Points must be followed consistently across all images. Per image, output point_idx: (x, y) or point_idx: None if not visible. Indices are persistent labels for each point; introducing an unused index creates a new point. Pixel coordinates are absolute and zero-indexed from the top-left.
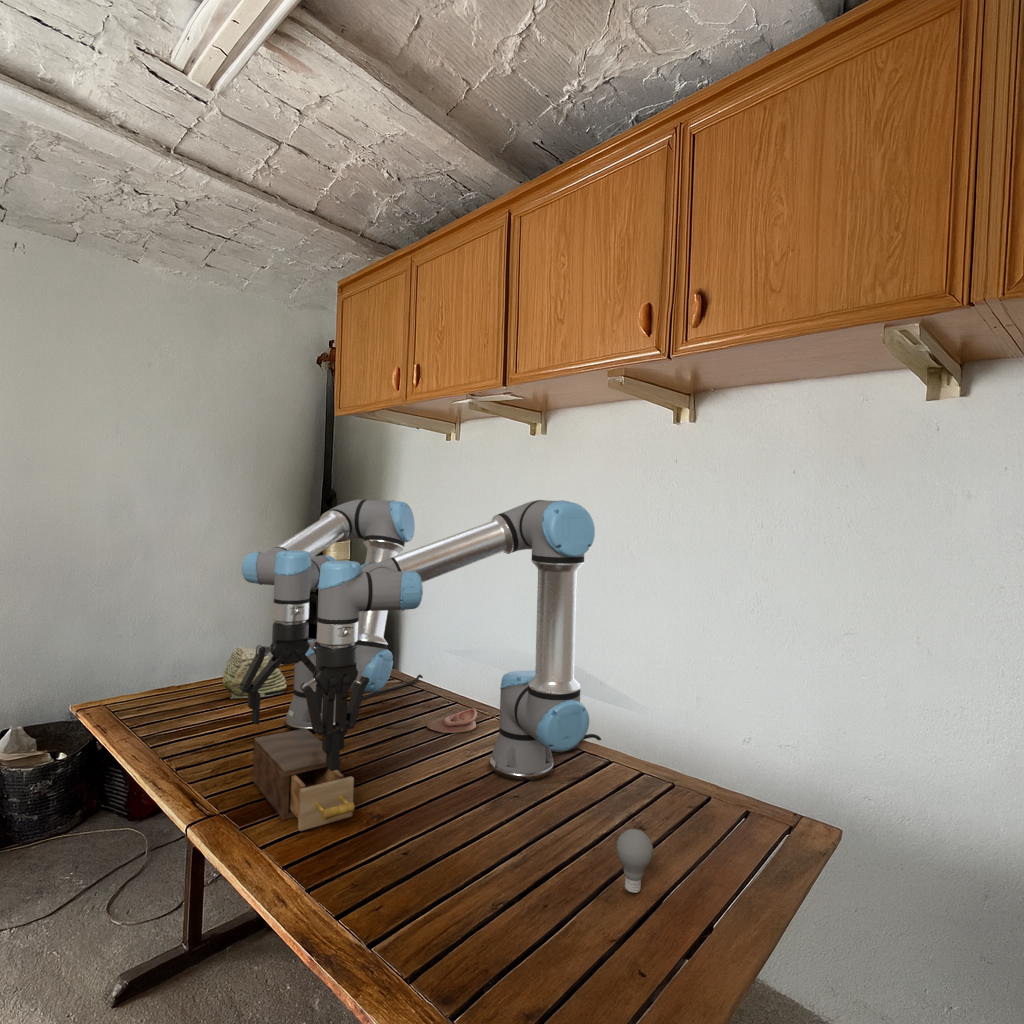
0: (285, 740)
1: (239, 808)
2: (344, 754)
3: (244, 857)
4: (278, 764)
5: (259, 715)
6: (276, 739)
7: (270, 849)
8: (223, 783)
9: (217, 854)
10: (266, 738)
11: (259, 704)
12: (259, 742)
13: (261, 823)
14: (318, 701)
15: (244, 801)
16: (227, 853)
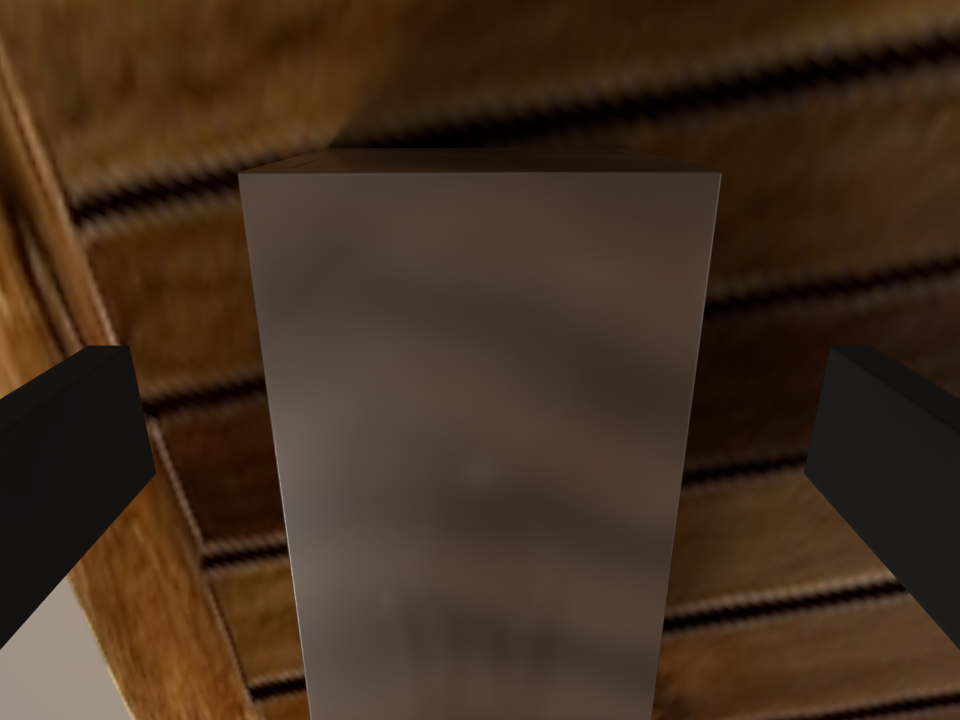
0: (458, 363)
1: (220, 408)
2: (950, 53)
3: (196, 714)
4: (306, 684)
5: (105, 530)
6: (401, 308)
7: (278, 713)
8: (171, 81)
9: (116, 665)
10: (333, 239)
11: (6, 636)
12: (262, 299)
13: (283, 562)
14: (885, 558)
15: (250, 356)
16: (147, 674)
